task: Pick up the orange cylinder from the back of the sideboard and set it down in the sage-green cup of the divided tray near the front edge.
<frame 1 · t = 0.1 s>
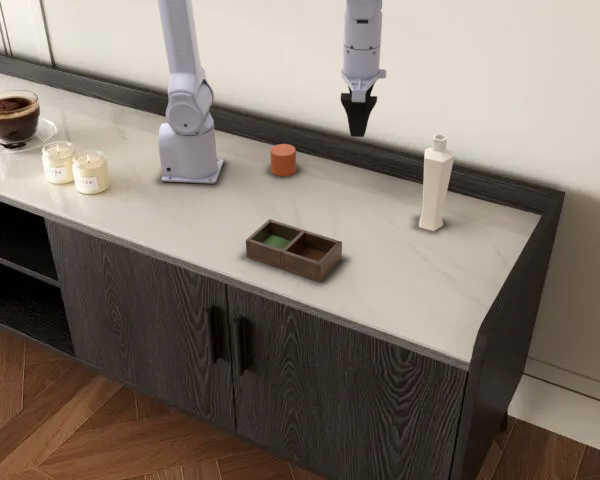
hand: (358, 125, 125), 10 cm above the sideboard, tool pointing down, fingers open, 7 cm apart
divided tray: (294, 258, 114), on the sideboard
orange cylinder: (283, 170, 134), on the sideboard
white vase: (429, 224, 121), on the sideboard
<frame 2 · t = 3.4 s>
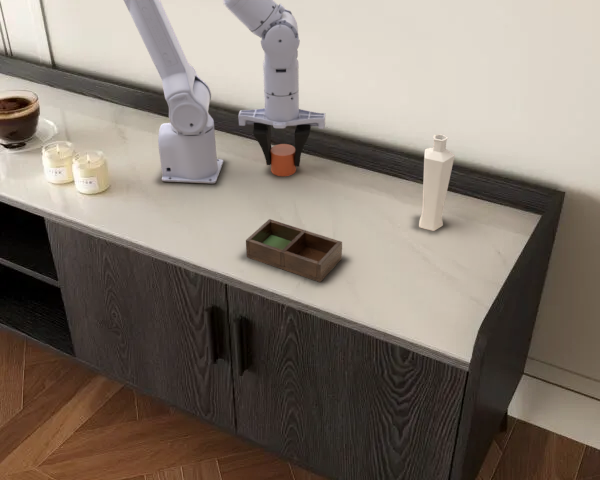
hand: (283, 163, 133), 1 cm above the sideboard, tool pointing down, fingers closed on orange cylinder, 4 cm apart
orange cylinder: (283, 170, 134), on the sideboard, touching gripper
everything else where it was.
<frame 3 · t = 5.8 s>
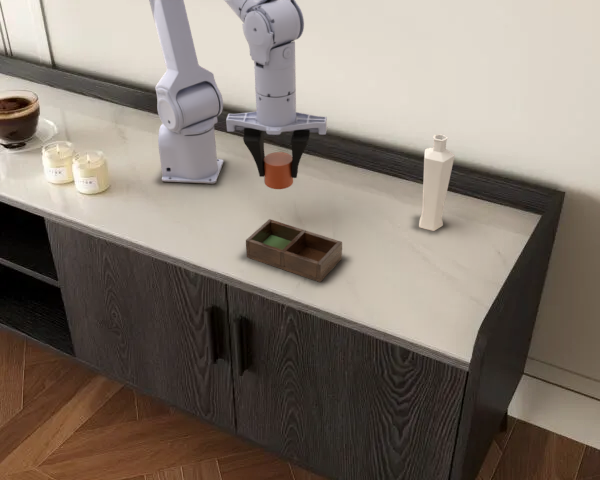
hand: (278, 174, 116), 8 cm above the sideboard, tool pointing down, fingers closed on orange cylinder, 4 cm apart
orange cylinder: (279, 182, 117), point 7 cm above the sideboard, touching gripper
everything else where it was.
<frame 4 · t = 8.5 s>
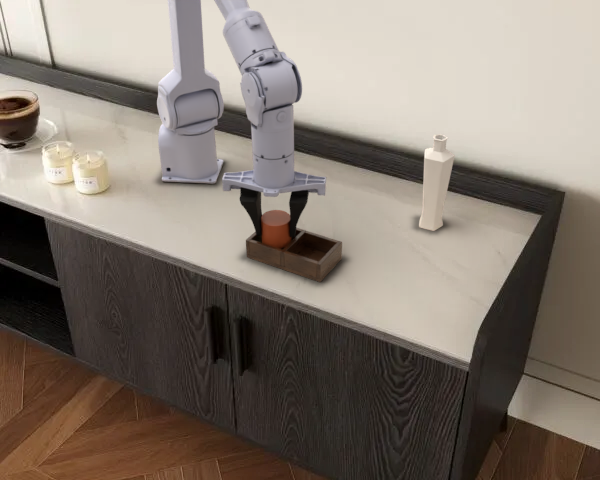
hand: (276, 232, 112), 4 cm above the sideboard, tool pointing down, fingers closed on orange cylinder, 4 cm apart
orange cylinder: (276, 240, 113), point 2 cm above the sideboard, touching gripper
everything else where it was.
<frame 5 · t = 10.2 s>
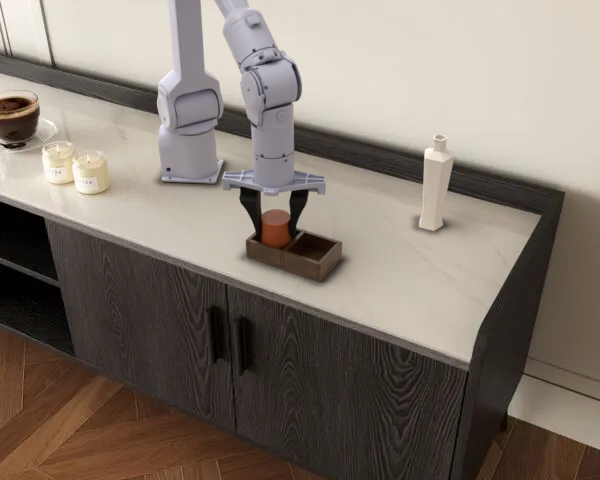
hand: (276, 232, 112), 4 cm above the sideboard, tool pointing down, fingers closed on orange cylinder, 4 cm apart
orange cylinder: (276, 239, 113), point 2 cm above the sideboard, touching gripper
everything else where it was.
when the fingers open (4 cm above the sideboard, at t = 11.7 s): orange cylinder drops 1 cm, resting on divided tray.
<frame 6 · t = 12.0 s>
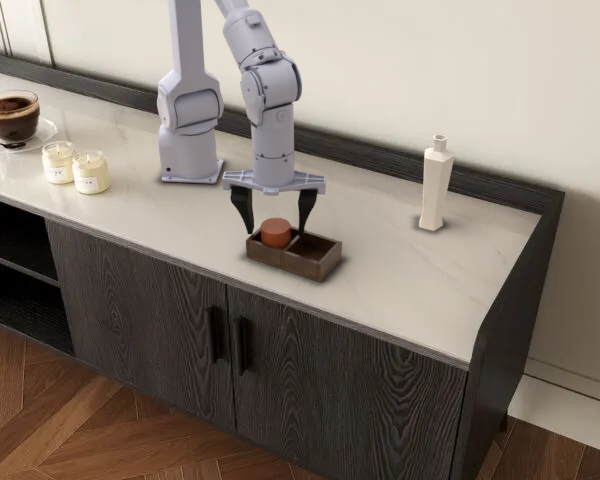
hand: (276, 231, 112), 4 cm above the sideboard, tool pointing down, fingers open, 7 cm apart
orange cylinder: (276, 247, 114), point 1 cm above the sideboard, touching divided tray
everything else where it was.
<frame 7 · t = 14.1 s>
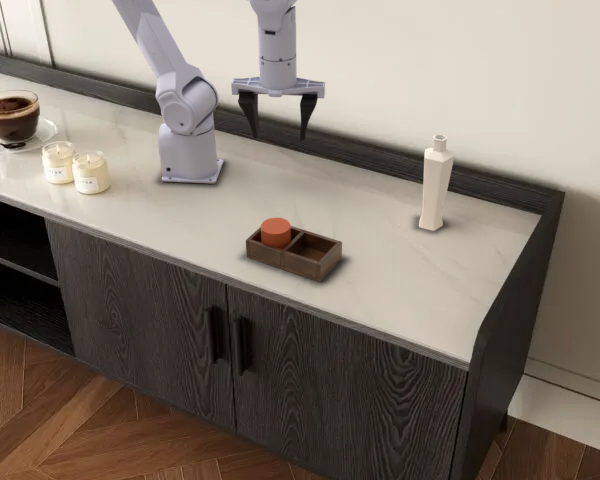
hand: (279, 136, 124), 9 cm above the sideboard, tool pointing down, fingers open, 7 cm apart
nothing on the sideboard moved.
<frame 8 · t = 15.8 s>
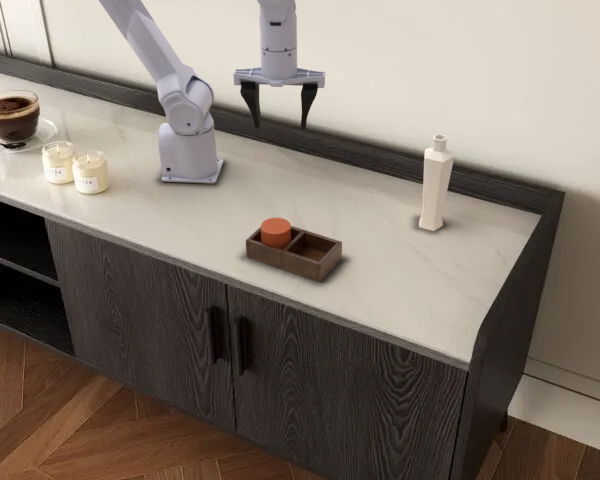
hand: (280, 126, 127), 9 cm above the sideboard, tool pointing down, fingers open, 7 cm apart
nothing on the sideboard moved.
at the end: orange cylinder 0.1 cm from the target spot in the divided tray, point 0.8 cm above the divided tray's base; orange cylinder tilted 0°; the gripper is holding nothing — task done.
